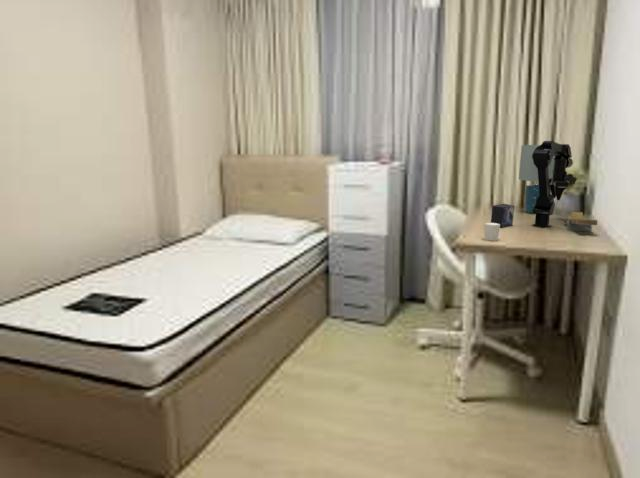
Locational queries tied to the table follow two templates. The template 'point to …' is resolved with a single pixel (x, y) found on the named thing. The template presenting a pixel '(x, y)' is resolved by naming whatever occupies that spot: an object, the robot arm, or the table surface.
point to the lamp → (531, 175)
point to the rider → (575, 215)
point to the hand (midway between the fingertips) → (556, 199)
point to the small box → (502, 214)
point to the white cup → (491, 231)
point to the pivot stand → (579, 228)
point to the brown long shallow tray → (581, 222)
